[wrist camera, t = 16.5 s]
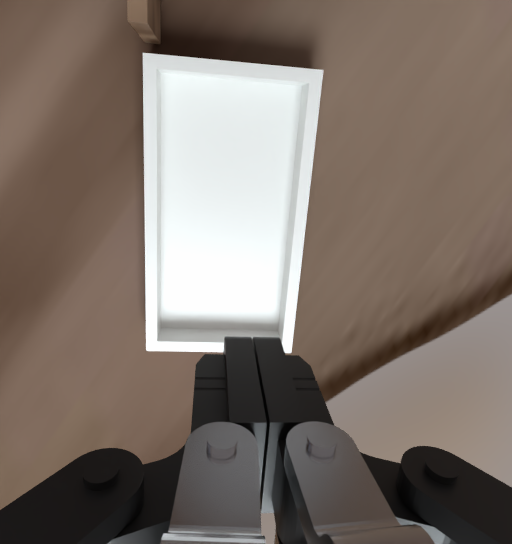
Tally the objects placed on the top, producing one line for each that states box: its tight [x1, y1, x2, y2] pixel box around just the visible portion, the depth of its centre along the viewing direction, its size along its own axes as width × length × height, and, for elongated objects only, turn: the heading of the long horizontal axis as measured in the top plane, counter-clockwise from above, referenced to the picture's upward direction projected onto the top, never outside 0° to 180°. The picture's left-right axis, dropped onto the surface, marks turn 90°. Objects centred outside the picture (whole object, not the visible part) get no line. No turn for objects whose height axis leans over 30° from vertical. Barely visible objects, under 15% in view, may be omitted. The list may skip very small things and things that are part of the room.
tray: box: [143, 53, 323, 353], centre depth 30 cm, size 20×11×3 cm, turn 176°
